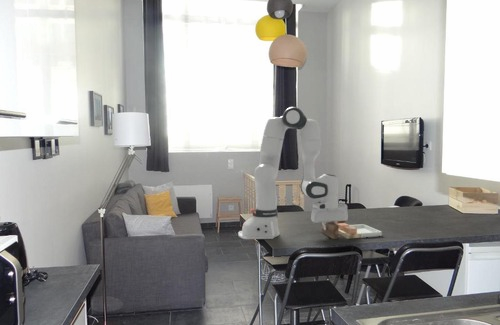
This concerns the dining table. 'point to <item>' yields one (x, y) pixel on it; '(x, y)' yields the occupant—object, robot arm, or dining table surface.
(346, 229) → the tile
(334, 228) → the tall tan block
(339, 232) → the board
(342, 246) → the dining table surface
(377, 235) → the tray
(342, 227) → the tile
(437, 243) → the dining table surface
